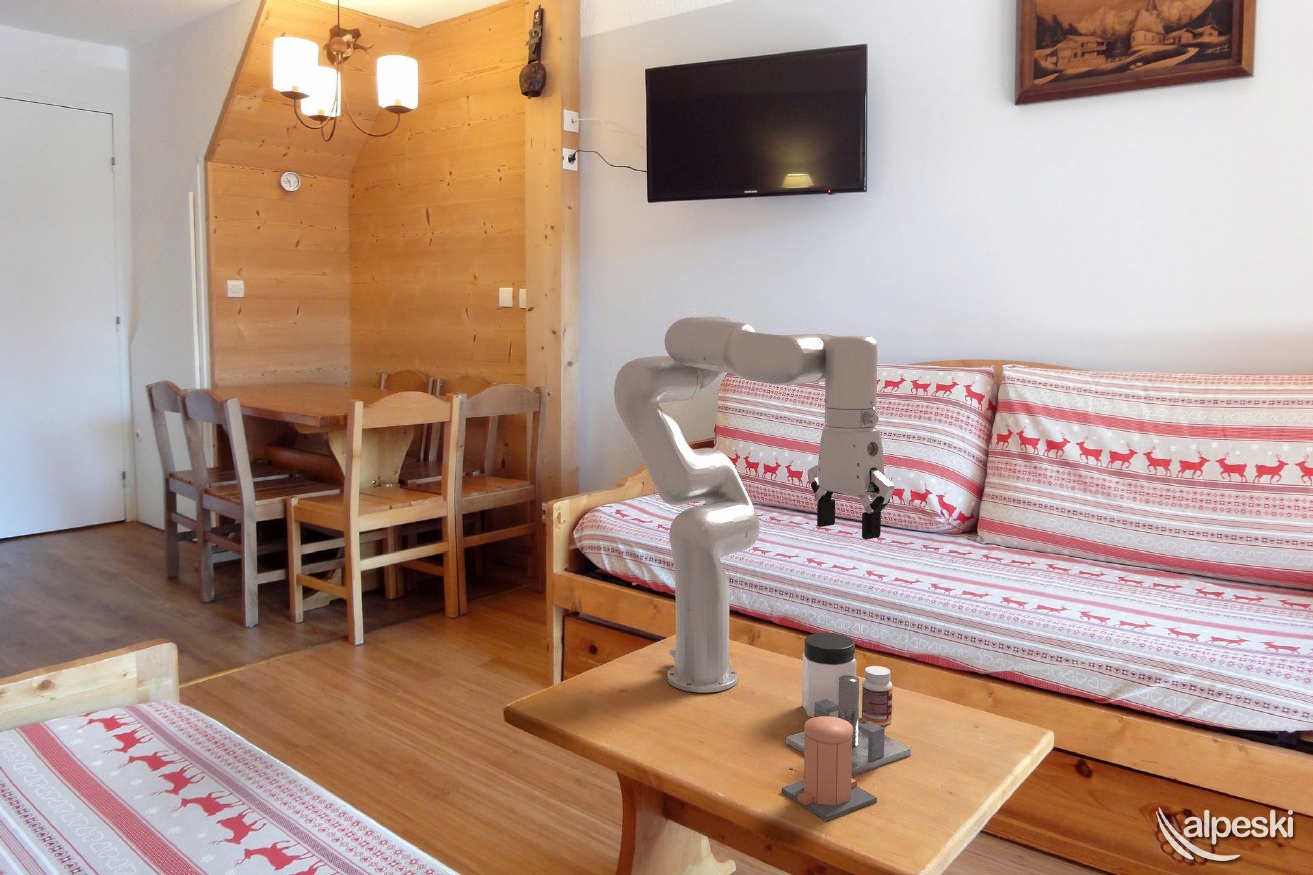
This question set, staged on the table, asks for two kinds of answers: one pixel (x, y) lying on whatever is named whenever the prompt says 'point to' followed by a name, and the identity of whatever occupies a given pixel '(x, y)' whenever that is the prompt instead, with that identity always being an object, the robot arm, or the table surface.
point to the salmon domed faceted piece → (827, 761)
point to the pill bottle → (877, 696)
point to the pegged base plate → (856, 730)
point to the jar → (825, 668)
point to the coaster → (830, 811)
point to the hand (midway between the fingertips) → (847, 531)
